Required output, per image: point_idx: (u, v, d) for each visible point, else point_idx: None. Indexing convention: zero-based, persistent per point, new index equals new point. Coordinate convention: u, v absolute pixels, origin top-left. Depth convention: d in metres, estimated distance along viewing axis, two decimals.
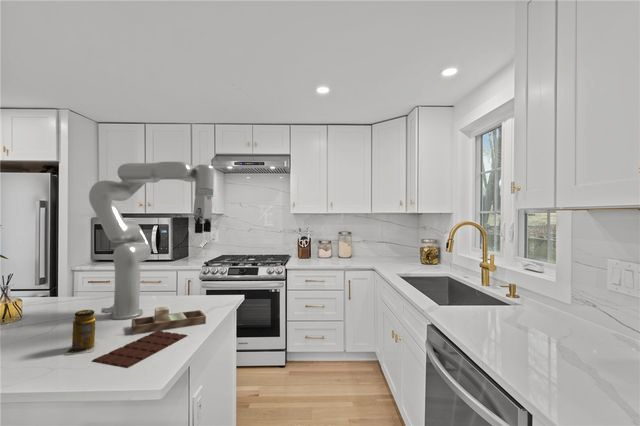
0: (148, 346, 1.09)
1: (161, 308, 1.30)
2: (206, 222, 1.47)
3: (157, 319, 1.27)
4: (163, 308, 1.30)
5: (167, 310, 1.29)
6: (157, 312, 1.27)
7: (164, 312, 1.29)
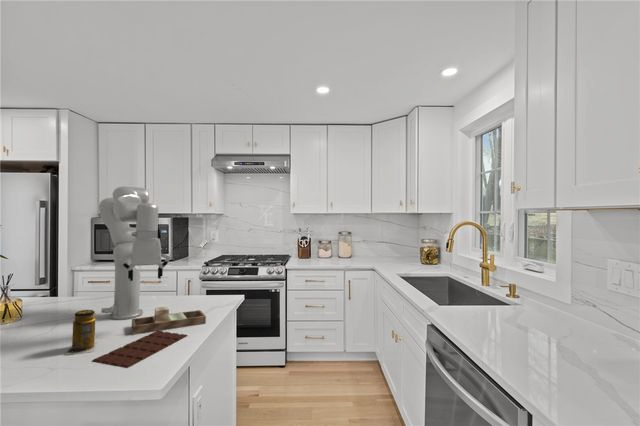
0: (148, 346, 1.09)
1: (161, 308, 1.30)
2: (132, 269, 1.24)
3: (157, 319, 1.27)
4: (163, 308, 1.30)
5: (167, 310, 1.29)
6: (157, 312, 1.27)
7: (164, 312, 1.29)
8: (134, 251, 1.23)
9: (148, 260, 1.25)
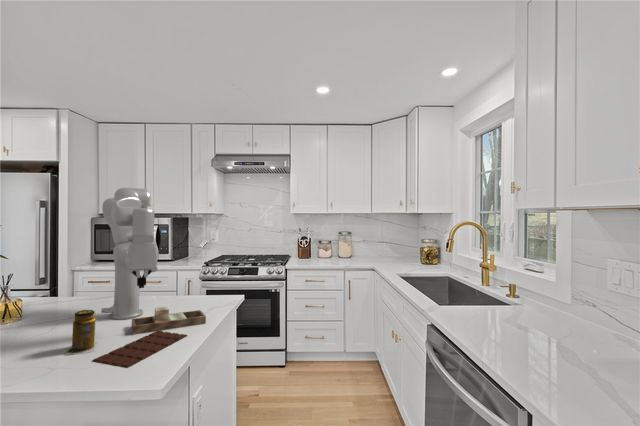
0: (148, 346, 1.09)
1: (161, 308, 1.30)
2: None
3: (157, 319, 1.27)
4: (163, 308, 1.30)
5: (167, 310, 1.29)
6: (157, 312, 1.27)
7: (164, 312, 1.29)
8: (130, 256, 1.22)
9: (144, 265, 1.24)
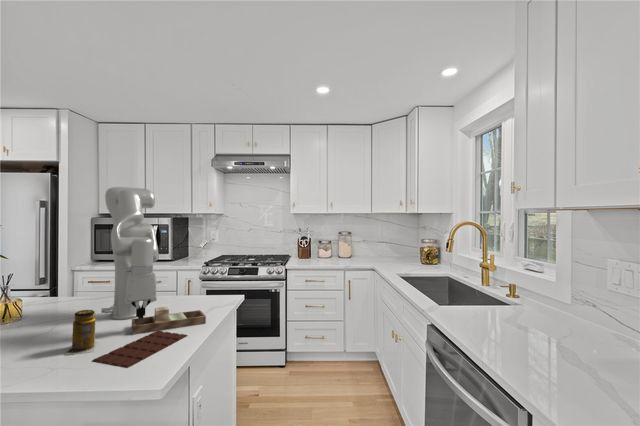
0: (148, 346, 1.09)
1: (161, 308, 1.30)
2: None
3: (157, 319, 1.27)
4: (163, 308, 1.30)
5: (167, 310, 1.29)
6: (157, 312, 1.27)
7: (164, 312, 1.29)
8: (129, 287, 1.21)
9: (143, 296, 1.24)
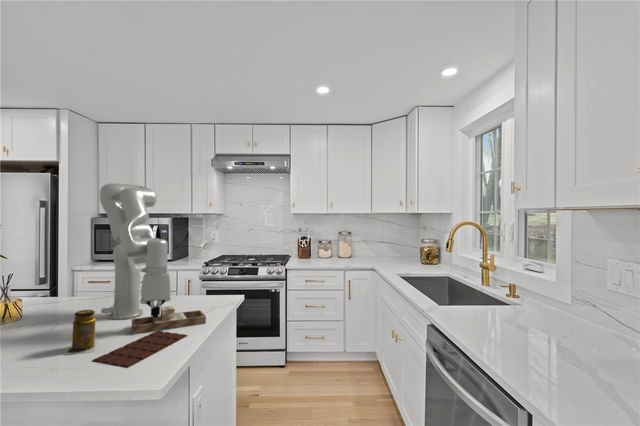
0: (148, 346, 1.09)
1: (167, 307, 1.31)
2: None
3: (163, 318, 1.28)
4: (168, 308, 1.31)
5: (173, 309, 1.30)
6: (163, 311, 1.28)
7: (170, 311, 1.30)
8: (144, 287, 1.24)
9: (158, 296, 1.27)
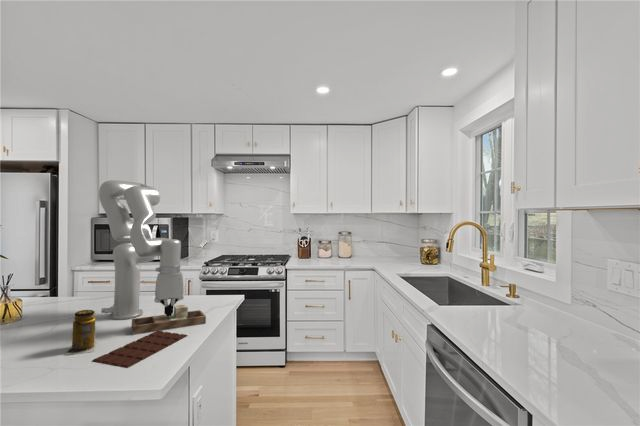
0: (148, 346, 1.09)
1: (180, 306, 1.34)
2: None
3: (177, 317, 1.31)
4: (182, 306, 1.34)
5: (186, 308, 1.33)
6: (177, 310, 1.31)
7: (183, 310, 1.32)
8: (158, 286, 1.27)
9: (171, 294, 1.29)
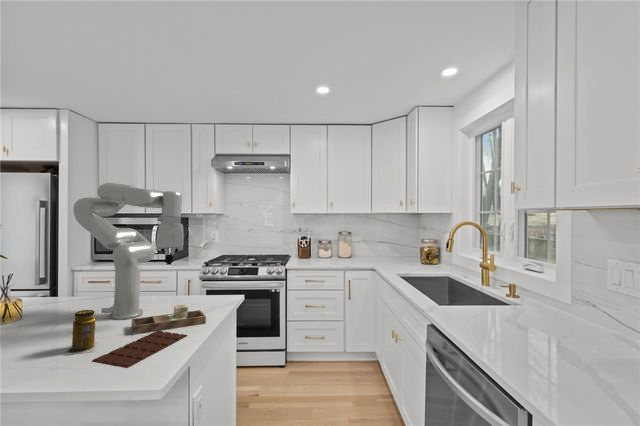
0: (148, 346, 1.09)
1: (180, 306, 1.34)
2: None
3: (177, 317, 1.31)
4: (182, 306, 1.34)
5: (186, 308, 1.33)
6: (177, 310, 1.31)
7: (183, 310, 1.32)
8: (159, 235, 1.33)
9: (171, 243, 1.35)
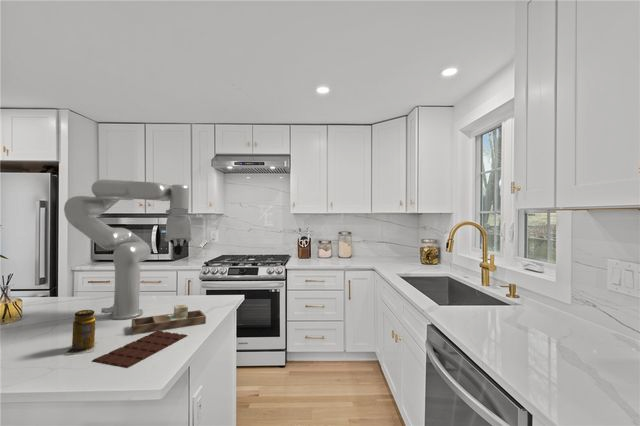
0: (148, 346, 1.09)
1: (180, 306, 1.34)
2: None
3: (177, 317, 1.31)
4: (182, 306, 1.34)
5: (186, 308, 1.33)
6: (177, 310, 1.31)
7: (183, 310, 1.32)
8: (168, 226, 1.38)
9: (180, 234, 1.41)
